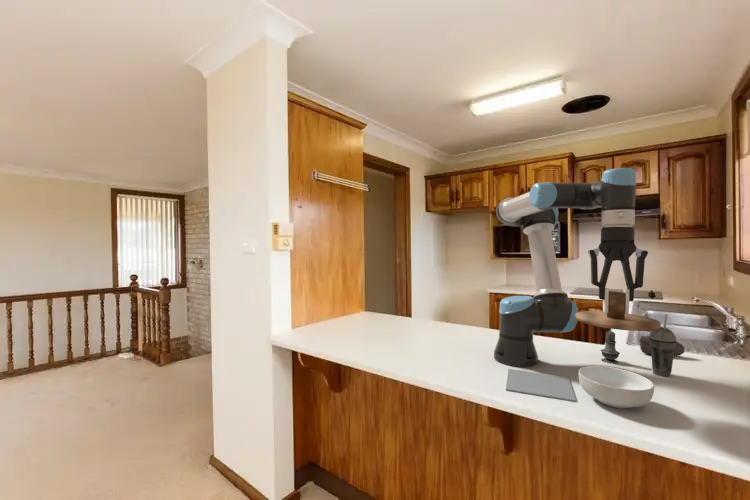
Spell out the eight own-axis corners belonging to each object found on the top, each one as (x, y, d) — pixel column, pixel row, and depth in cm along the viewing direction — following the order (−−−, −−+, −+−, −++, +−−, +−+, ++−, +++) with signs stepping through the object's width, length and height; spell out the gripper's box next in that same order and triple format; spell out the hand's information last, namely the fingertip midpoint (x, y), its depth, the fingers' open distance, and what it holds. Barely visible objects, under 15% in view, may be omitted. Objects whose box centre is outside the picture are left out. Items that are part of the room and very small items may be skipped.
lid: (580, 326, 90) (580, 294, 90) (571, 312, 107) (572, 286, 107) (672, 334, 82) (673, 299, 82) (647, 318, 100) (648, 290, 100)
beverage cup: (642, 370, 119) (643, 312, 119) (661, 370, 120) (663, 312, 119) (661, 378, 112) (662, 316, 111) (682, 378, 112) (683, 316, 112)
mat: (505, 390, 102) (505, 389, 102) (508, 369, 119) (508, 368, 119) (576, 401, 95) (576, 400, 95) (568, 378, 112) (568, 377, 112)
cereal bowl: (583, 409, 91) (584, 382, 91) (573, 385, 106) (574, 362, 106) (664, 422, 84) (664, 393, 84) (641, 395, 100) (642, 370, 100)
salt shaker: (622, 364, 125) (623, 331, 125) (604, 363, 126) (605, 330, 126) (615, 359, 131) (615, 327, 130) (597, 358, 132) (598, 326, 131)
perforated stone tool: (681, 355, 136) (682, 337, 136) (688, 359, 131) (688, 341, 131) (635, 351, 141) (635, 333, 141) (639, 354, 136) (640, 337, 136)
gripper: (583, 226, 94) (581, 312, 95) (661, 225, 88) (659, 318, 88) (579, 227, 101) (577, 307, 102) (651, 226, 95) (649, 312, 95)
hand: (615, 312), depth 95 cm, fingers closed on lid, 4 cm apart
